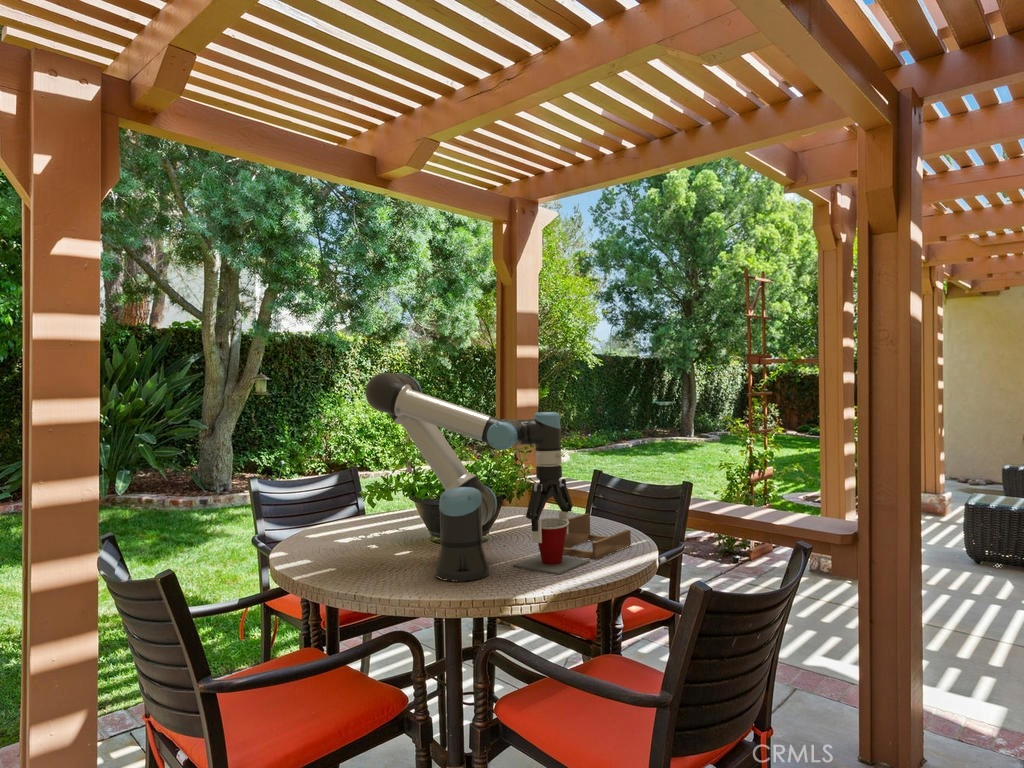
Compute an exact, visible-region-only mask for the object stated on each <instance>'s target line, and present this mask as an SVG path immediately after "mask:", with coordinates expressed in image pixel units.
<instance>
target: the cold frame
mask: <svg viewBox="0 0 1024 768" xmlns="http://www.w3.org/2000/svg"><path fill="white" fill-rule="evenodd" d="M590 516H591V514H590V513H583V514H579V515H576V516H573V517H568V521H569V525H568V533H569V534H566V536H565V544H564V551H563V556H567V555H569V556H568V557H574V556H577V557H576V558H580V557H584V558H583V559H586V558H590V559H589V560H593V559H598V560H599V558H600V559H602V558H604V557H603V556H605V555H607V556H609V555H608V554H610V553H612V554H614V553H613V552H615V551H617V550H619V551H621V550H620V549H622V548H624V549H626V548H625V547H627V546H629V547H631V546H632V539H631V538H632V537H631V534H632V533H631V529H626V530H624V531H620V532H617V533H615V534H613V535H612V534H611V535H610V536H605V535H598V534H591V517H590ZM588 540H590V541H588ZM585 541H587V542H592V541H596V542H592V549H591V550H592V551H591V550H585V549H577V548H573V547H572V546H574V545H576V546H578V545H577V544H579V545H581V544H580V543H582V544H584V543H583V542H585ZM585 543H586V542H585ZM630 545H631V546H630ZM570 547H571V548H570ZM574 547H575V546H574ZM627 548H628V547H627ZM622 550H623V549H622ZM617 552H618V551H617ZM615 553H616V552H615ZM610 555H611V554H610ZM601 557H602V558H601ZM605 557H606V556H605Z"/></svg>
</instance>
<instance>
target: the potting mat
mask: <svg viewBox="0 0 1024 768" xmlns="http://www.w3.org/2000/svg"><path fill="white" fill-rule="evenodd" d="M589 562H590V563H591V559H586V558H579V557H573V556H566V555H563V557H562V562H561V563H559V564H554V565H549V564H544V563H542V560H541V554H539V555H537V556H533V557H532V558H529V559H526V560H525V559H524V560H523V561H520V562H517V563H515V564H513V565H512V567H513V566H515V567H514V568H517V567H519V568H518V569H522V568H524V570H528V571H534V572H539V573H545V574H550V575H551V574H552V575H555V576H556V575H557V576H561V575H564V574H565V573H568V572H570V571H572V570H575V569H578V568H579V566H580V567H582V566H584V564H585V565H587V564H590V563H589ZM586 563H587V564H586ZM581 565H582V566H581Z"/></svg>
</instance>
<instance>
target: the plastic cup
mask: <svg viewBox="0 0 1024 768" xmlns="http://www.w3.org/2000/svg"><path fill="white" fill-rule="evenodd" d="M539 519H540V520H541V532H542V543H537V545H538V551H539V555H541V560H542V563H544V564H549V565H554V564H559V563H561V562H562V557H563V556H564V555H563V551H564V544H565V536H566V531H567V527H568V525H569V521H568V520H566V519H562V518H559V517H543V518H539Z"/></svg>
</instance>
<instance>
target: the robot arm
mask: <svg viewBox="0 0 1024 768" xmlns="http://www.w3.org/2000/svg"><path fill="white" fill-rule="evenodd" d="M364 393H365V395H364V396H365V398H366V402H367V403H368V405H369V406H370V407H371V408H372V409H373V410H376V411H377V412H381V413H385V414H388V416H389V417H390V418H391V420H392V421H393V423H394V424H397V425H400V426H402V428H404V430H405V432H406V434H408V436H409V438H410V439H411V440H412V442H413V445H415V447H416V448H417V450H418V451H419V452H420V454H421V456H422V458H423V459H424V460H425V462H426V463H427V464H428V466H429V467H430V469H431V470H432V472H433V473H434V475H435V476H436V478H437V479H438V481H439V482H440V483H441V485H442V487H443V488H444V491H443V492H442V493H441V494H440V496H439V502H438V503H439V504H438V509H439V528H440V529H439V531H440V549H439V553H438V557H437V561H436V564H435V567H434V576H435V575H436V576H438V577H440V578H442V579H447V580H455V581H454V582H467V581H466V580H471V581H476V580H475V579H477V580H481V579H483V578H486V577H487V576H489V575H490V564H489V562H488V560H487V556H486V552H485V549H484V546H483V526H485V525H487V523H489V522H490V521H491V520H492V518H493V517H494V515H495V514H496V511H497V507H498V502H497V501H498V499H497V496H496V494H495V493H494V491H493V490H492V489H491V488H490V487H488V486H487V485H485V484H483V483H482V481H481V480H480V478H479V477H478V476H477V474H474V473H470V472H469V471H468V469H467V468H466V467H465V465H464V463H462V461H461V460H460V458H459V456H458V455H457V454H456V452H455V451H454V449H453V448H452V446H451V445H450V443H449V442H448V441H447V439H446V438H445V436H444V435H443V433H442V431H441V430H440V428H442V429H445V430H447V431H450V432H454V433H456V434H459V435H462V436H466V437H469V438H472V439H473V440H477V441H480V442H482V443H485V444H487V445H490V446H491V447H492V448H493V449H496V450H501V451H505V450H509V449H510V448H513V447H515V446H529V445H531V446H532V445H534V446H535V464H536V467H535V471H536V472H535V476H536V479H538V480H539V482H538V483H532V484H531V495H530V498H529V502H528V506H527V510H526V514H525V518H527V519H528V520H530V521H531V522H530V523H531V524H530V525H531V535H532V536H531V537H532V543H537V544H538V543H542V532H541V520H540V519H541V518H540V517H541V515H542V513H543V510H544V508H545V506H546V502H547V501H548V500H550V498H553V499H554V501H555V503H556V505H557V506H558V508H559V509H560V511H558V518H562V519H566V520H568V519H569V512H572V509H573V502H572V500H571V497H570V494H569V490H568V487H567V480H566V479H565V478H563V467H562V465H561V464H562V426H561V416H560V414H559V413H558V412H556V411H545V412H543V411H541V412H535V413H534V417H533V418H531V419H530V418H529V419H507V418H506V419H501V418H497V417H495V416H491V415H488V414H486V413H482V412H479V411H477V410H474V409H471V408H468V407H464V406H462V405H458V404H455V403H453V402H449V401H447V400H443V399H441V398H438V397H434V396H432V395H429V394H426V393H424V392H422V387H421V385H420V384H419V382H418V381H417V380H416V378H414V377H413V376H410V375H409V374H406V373H400V372H398V373H390V372H382V373H378V374H376V375H374V376H373V377H371V379H369V381H368V382H367V384H366V387H365V392H364ZM566 534H569V533H568V527H567V531H566ZM436 576H435V577H436ZM480 578H481V579H480ZM456 580H457V581H456Z"/></svg>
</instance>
